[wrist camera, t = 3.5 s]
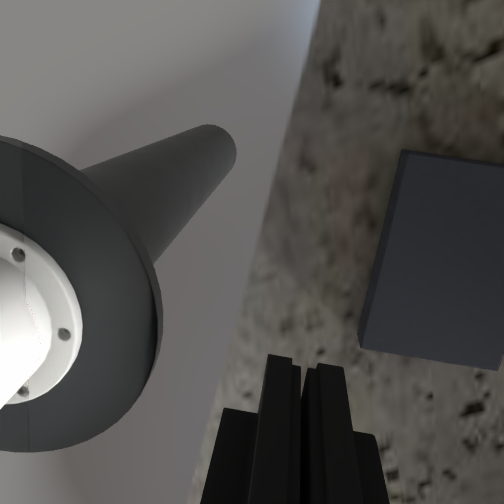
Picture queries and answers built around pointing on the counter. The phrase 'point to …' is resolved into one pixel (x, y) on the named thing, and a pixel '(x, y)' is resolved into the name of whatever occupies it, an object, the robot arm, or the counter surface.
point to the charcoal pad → (440, 264)
